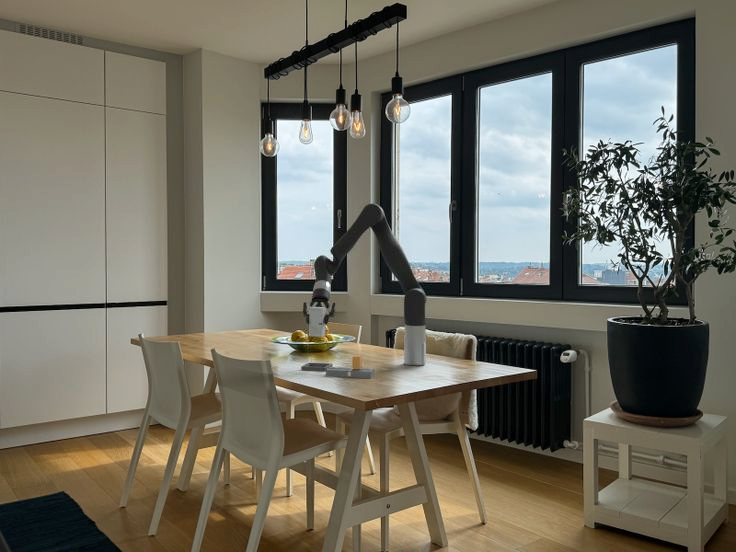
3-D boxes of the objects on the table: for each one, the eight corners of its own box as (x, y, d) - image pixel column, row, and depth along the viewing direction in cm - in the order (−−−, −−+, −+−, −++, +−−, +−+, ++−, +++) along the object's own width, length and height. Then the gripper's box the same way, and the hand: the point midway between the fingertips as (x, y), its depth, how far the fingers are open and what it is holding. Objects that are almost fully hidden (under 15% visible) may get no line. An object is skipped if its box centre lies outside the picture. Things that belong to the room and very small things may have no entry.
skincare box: (308, 336, 270) (308, 307, 270) (312, 335, 274) (312, 306, 274) (322, 337, 268) (322, 307, 268) (326, 335, 273) (326, 307, 272)
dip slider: (361, 367, 258) (362, 355, 257) (359, 369, 254) (359, 356, 254) (354, 367, 258) (354, 355, 258) (352, 369, 254) (352, 356, 254)
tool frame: (332, 367, 276) (332, 363, 276) (325, 371, 266) (325, 367, 265) (308, 365, 278) (308, 362, 278) (301, 370, 268) (301, 366, 268)
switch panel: (374, 375, 258) (374, 368, 258) (370, 378, 251) (370, 371, 251) (330, 372, 262) (330, 366, 262) (325, 376, 255) (325, 369, 255)
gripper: (304, 287, 279) (298, 317, 268) (337, 287, 278) (333, 317, 266) (306, 298, 284) (300, 328, 273) (338, 299, 283) (334, 329, 272)
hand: (317, 323), depth 270 cm, fingers closed on skincare box, 6 cm apart
